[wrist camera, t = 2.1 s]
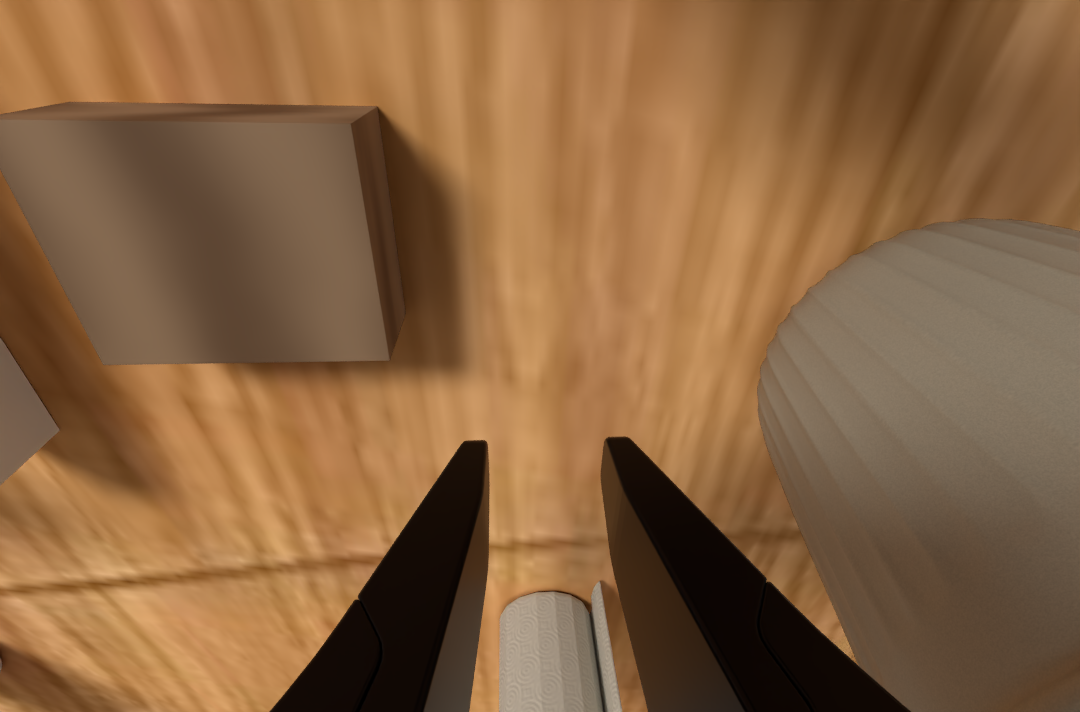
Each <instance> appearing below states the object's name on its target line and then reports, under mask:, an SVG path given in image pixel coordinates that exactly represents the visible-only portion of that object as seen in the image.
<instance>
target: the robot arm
mask: <svg viewBox="0 0 1080 712" xmlns="http://www.w3.org/2000/svg"><path fill="white" fill-rule="evenodd" d="M601 486H602V494H603V502H604V510H605V518H606V526H607V533H608V541H609V549H610V556H611V562H612V567H613V571H614V576H615V580H616V584H617V588H618V592H619V596H620V600H621V604H622V608H623V612H624V616H625V620H626V624H627V628H628V632H629V636H630V640H631V644H632V648H633V652H634V656H635V660H636V664H637V668H638V672H639V676H640V680H641V684H642V688H643V692H644V696H645V700H646V704H647V708H648V712H911V711H910V710H909V709H908V708H906V707H905V706H904V705H903V704H902V703H901V702H900V701H898V700H897V699H896V698H895V697H894V696H893V695H891V694H890V693H889V692H888V691H887V690H886V689H885V688H883V687H882V686H881V685H880V684H879V683H878V682H877V681H875V680H874V679H873V678H872V677H871V676H870V675H868V674H867V673H866V672H865V671H864V670H863V669H862V668H860V667H859V666H858V665H857V664H856V663H855V662H854V661H852V660H851V659H850V658H849V657H848V656H847V655H846V654H845V653H844V652H843V651H841V650H840V649H839V648H838V647H837V646H836V645H835V644H834V643H833V642H831V641H830V640H829V639H828V638H827V637H826V636H825V635H824V634H823V633H821V632H820V631H819V630H818V629H817V628H816V627H815V626H814V625H813V624H812V623H811V622H810V621H809V620H808V619H807V618H806V617H805V616H804V615H803V614H802V613H801V612H800V611H799V610H798V609H797V608H796V607H795V606H794V605H793V604H792V603H791V602H790V601H789V600H788V599H787V598H786V597H785V596H784V595H783V594H782V593H781V592H780V591H779V590H778V589H777V588H776V587H775V586H774V585H773V584H772V583H771V582H767V583H766V580H767V579H766V577H765V576H764V575H763V574H762V573H761V572H760V571H759V570H758V569H757V568H756V567H755V566H754V565H753V564H752V563H751V562H750V561H749V560H748V559H747V558H746V557H745V556H744V555H743V554H742V552H741V551H740V550H739V549H738V548H737V547H736V546H735V545H734V544H733V543H732V542H731V541H730V540H729V539H728V538H727V537H726V536H725V535H724V534H723V533H722V532H721V531H720V530H719V529H718V528H717V527H716V526H715V525H714V524H713V523H712V522H711V521H710V520H709V519H708V518H707V517H706V516H705V515H704V514H703V513H702V511H701V510H700V509H699V508H698V507H697V506H696V505H695V504H694V503H693V502H692V501H691V500H690V499H689V498H688V497H687V496H686V495H685V494H684V493H683V492H682V491H681V490H680V489H679V488H678V487H677V486H676V485H675V484H674V483H673V482H672V481H671V480H670V479H669V478H668V477H667V476H666V475H665V474H664V473H663V472H662V471H661V469H660V468H659V467H658V466H657V465H656V464H655V463H654V462H653V461H652V460H651V459H650V458H649V457H648V456H647V455H646V454H645V453H644V452H643V451H642V450H641V449H640V448H639V447H638V446H637V445H636V444H635V443H634V442H633V441H632V440H631V439H630V438H628V437H608V438H606V439H605V441H604V447H603V456H602V465H601ZM488 558H489V460H488V444H487V442H486V441H485V440H474V441H464V442H463V443H462V444H461V446H460V447H459V448H458V450H457V451H456V453H455V454H454V456H453V457H452V459H451V460H450V462H449V463H448V465H447V466H446V467H445V469H444V470H443V472H442V473H441V475H440V476H439V478H438V479H437V481H436V482H435V484H434V485H433V486H432V488H431V489H430V491H429V492H428V494H427V495H426V497H425V498H424V500H423V501H422V503H421V504H420V505H419V507H418V508H417V510H416V511H415V513H414V514H413V516H412V517H411V519H410V520H409V522H408V523H407V524H406V526H405V527H404V529H403V530H402V532H401V533H400V535H399V536H398V538H397V539H396V541H395V542H394V543H393V545H392V546H391V548H390V549H389V551H388V552H387V554H386V555H385V557H384V558H383V560H382V561H381V562H380V564H379V565H378V567H377V568H376V570H375V571H374V573H373V574H372V576H371V577H370V579H369V580H368V581H367V583H366V584H365V586H364V587H363V589H362V590H361V592H360V593H359V595H358V600H354V601H353V603H352V604H351V606H350V607H349V609H348V610H347V612H346V613H345V615H344V616H343V618H342V619H341V621H340V622H339V624H338V625H337V626H336V628H335V629H334V630H333V632H332V633H331V635H330V636H329V637H328V639H327V640H326V641H325V643H324V644H323V646H322V647H321V648H320V650H319V651H318V652H317V654H316V655H315V657H314V658H313V659H312V660H311V662H310V663H309V664H308V665H307V667H306V668H305V669H304V670H303V672H302V673H301V674H300V675H299V676H298V678H297V679H296V680H295V681H294V683H293V684H292V685H291V686H290V688H289V689H288V690H287V691H286V693H285V694H284V695H283V696H282V697H281V699H280V700H279V701H278V702H277V703H276V705H275V706H274V707H273V708H272V709H271V711H270V712H469V709H470V701H471V694H472V686H473V679H474V672H475V664H476V657H477V649H478V642H479V634H480V627H481V619H482V612H483V605H484V597H485V590H486V582H487V573H488Z"/></svg>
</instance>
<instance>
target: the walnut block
mask: <svg viewBox="0 0 1080 712" xmlns="http://www.w3.org/2000/svg"><path fill="white" fill-rule="evenodd" d="M0 170H1V172H2V174H3V176H4V178H5V179H6V181H7V183H8V185H9V187H10V189H11V191H12V193H13V195H14V197H15V198H16V200H17V202H18V204H19V206H20V208H21V210H22V212H23V214H24V215H25V217H26V219H27V221H28V223H29V225H30V227H31V229H32V231H33V233H34V234H35V236H36V238H37V240H38V242H39V244H40V246H41V248H42V250H43V252H44V253H45V255H46V257H47V259H48V261H49V263H50V265H51V267H52V269H53V271H54V272H55V274H56V276H57V278H58V280H59V282H60V284H61V286H62V288H63V289H64V291H65V293H66V295H67V297H68V299H69V301H70V303H71V305H72V307H73V308H74V310H75V312H76V314H77V316H78V318H79V320H80V322H81V324H82V326H83V327H84V329H85V331H86V333H87V335H88V337H89V339H90V341H91V343H92V344H93V346H94V348H95V350H96V352H97V354H98V356H99V358H100V360H101V362H102V363H103V365H133V364H199V363H265V362H331V361H390V358H391V355H392V352H393V349H394V346H395V343H396V340H397V338H398V335H399V332H400V329H401V326H402V323H403V320H404V317H405V314H406V311H405V304H404V297H403V289H402V282H401V275H400V268H399V260H398V253H397V246H396V238H395V231H394V224H393V216H392V209H391V202H390V194H389V187H388V180H387V172H386V165H385V158H384V151H383V143H382V136H381V129H380V121H379V114H378V107H377V106H323V105H253V104H183V103H114V102H66V103H61V104H55V105H50V106H44V107H39V108H33V109H28V110H22V111H17V112H11V113H5V114H0Z"/></svg>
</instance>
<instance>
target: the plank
mask: <svg viewBox="0 0 1080 712" xmlns="http://www.w3.org/2000/svg"><path fill="white" fill-rule="evenodd" d="M59 431H60V430H59V428H58V427H57V425H56V423H55V422H54V420H53V419H52V417H51V416H50V414H49V413H48V411H47V409H46V408H45V406H44V405H43V403H42V402H41V400H40V398H39V397H38V395H37V394H36V392H35V391H34V389H33V388H32V386H31V384H30V383H29V381H28V380H27V378H26V377H25V375H24V373H23V372H22V370H21V369H20V367H19V366H18V364H17V363H16V361H15V359H14V358H13V356H12V355H11V353H10V352H9V350H8V348H7V347H6V345H5V344H4V342H3V341H2V339H1V338H0V485H1V484H2V483H3V482H4V481H5V480H7V479H8V478H9V477H10V476H11V475H12V474H13V473H14V472H15V471H16V470H17V469H19V468H20V467H21V466H22V465H23V464H24V463H25V462H26V461H27V460H28V459H29V458H31V457H32V456H33V455H34V454H35V453H36V452H37V451H38V450H39V449H40V448H41V447H42V446H44V445H45V444H46V443H47V442H48V441H49V440H50V439H51V438H52V437H53V436H54V435H56V434H57V433H58V432H59Z"/></svg>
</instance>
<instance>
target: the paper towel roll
mask: <svg viewBox="0 0 1080 712" xmlns="http://www.w3.org/2000/svg"><path fill="white" fill-rule="evenodd" d="M591 600H592V610H591V612H590V614H589V612H588V610H587V609H586V607H585V605H584V604H583V602H582V601H580V600H578V599H577V598H575V597H573V596H571V595H569V594H564V593H558V592H536V593H532V594H529V595H526V596H522V597H519V598H518V599H516V600H515V601H513V602H511V603H510V604H508V605H507V606H506V608H505V609H504V611H503V613H502V614H501V616H500V666H499V712H622V707H621V701H620V695H619V689H618V683H617V678H616V672H615V666H614V660H613V654H612V648H611V642H610V637H609V631H608V625H607V619H606V613H605V607H604V601H603V596H602V590H601V584H600V581H599V582H598V583H597V584H596V585H595V587H594V589H593V592H592V596H591Z"/></svg>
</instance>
